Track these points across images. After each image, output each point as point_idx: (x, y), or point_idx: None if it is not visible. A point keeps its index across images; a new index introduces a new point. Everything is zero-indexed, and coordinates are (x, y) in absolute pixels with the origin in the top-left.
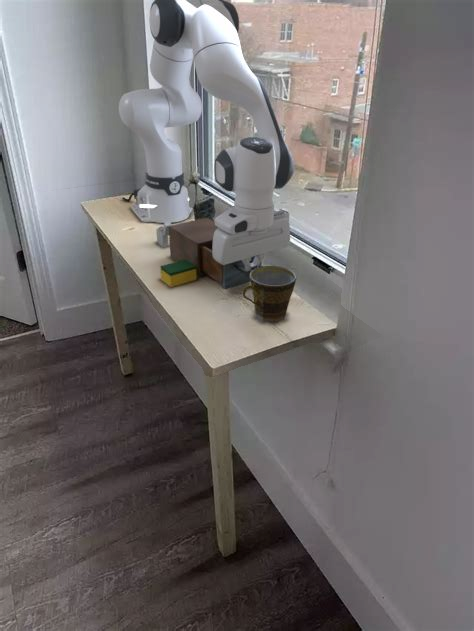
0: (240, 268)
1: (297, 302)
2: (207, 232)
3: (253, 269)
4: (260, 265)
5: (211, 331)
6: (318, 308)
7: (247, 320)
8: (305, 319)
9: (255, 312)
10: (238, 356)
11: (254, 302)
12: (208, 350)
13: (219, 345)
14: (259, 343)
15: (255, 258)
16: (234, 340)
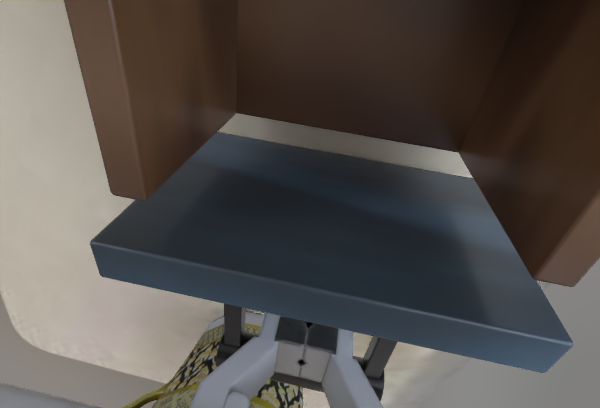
0: (229, 306)
1: (390, 359)
2: None
3: (273, 374)
4: (372, 362)
5: (55, 278)
6: (400, 401)
7: (179, 312)
8: (319, 396)
9: (202, 335)
10: (85, 360)
11: (150, 401)
12: (26, 315)
13: (57, 321)
14: (150, 368)
15: (347, 398)
16: (100, 332)
